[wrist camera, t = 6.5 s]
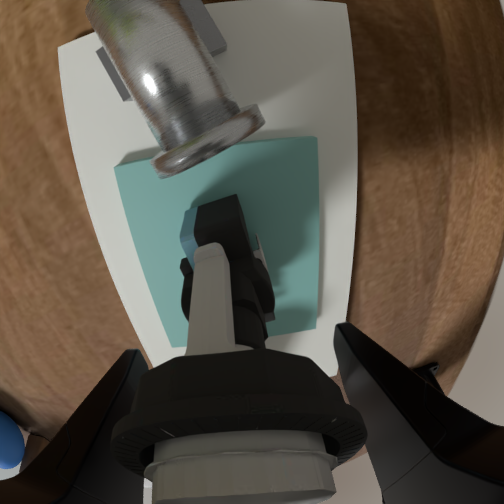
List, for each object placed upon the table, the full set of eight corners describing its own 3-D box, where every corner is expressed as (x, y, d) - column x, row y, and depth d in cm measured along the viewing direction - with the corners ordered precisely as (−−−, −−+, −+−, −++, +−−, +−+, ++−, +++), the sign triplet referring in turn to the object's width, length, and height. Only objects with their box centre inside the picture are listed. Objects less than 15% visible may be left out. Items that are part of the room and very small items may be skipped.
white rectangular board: (339, 7, 9) (351, 0, 8) (333, 366, 20) (338, 381, 19) (66, 49, 8) (50, 46, 7) (171, 388, 20) (169, 403, 18)
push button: (303, 299, 14) (369, 498, 6) (202, 328, 15) (204, 526, 6) (269, 172, 11) (401, 434, 2) (143, 215, 11) (44, 468, 3)
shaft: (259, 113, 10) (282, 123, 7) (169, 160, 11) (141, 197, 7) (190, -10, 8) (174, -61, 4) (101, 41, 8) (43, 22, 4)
